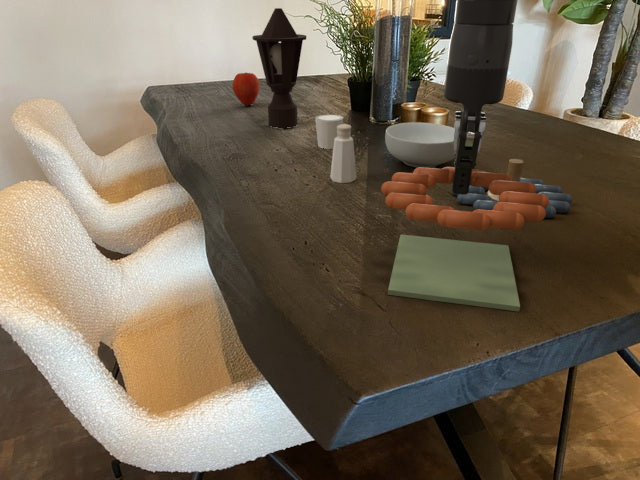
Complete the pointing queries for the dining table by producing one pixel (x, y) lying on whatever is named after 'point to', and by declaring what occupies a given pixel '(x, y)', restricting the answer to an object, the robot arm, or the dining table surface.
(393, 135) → the cereal bowl
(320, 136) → the white sugar pot
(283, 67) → the lantern
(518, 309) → the mat
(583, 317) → the dining table surface
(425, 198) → the top ring
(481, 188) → the bottom ring
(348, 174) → the pepper shaker
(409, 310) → the dining table surface
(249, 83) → the apple
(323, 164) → the dining table surface
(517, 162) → the ring stand
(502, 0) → the robot arm
